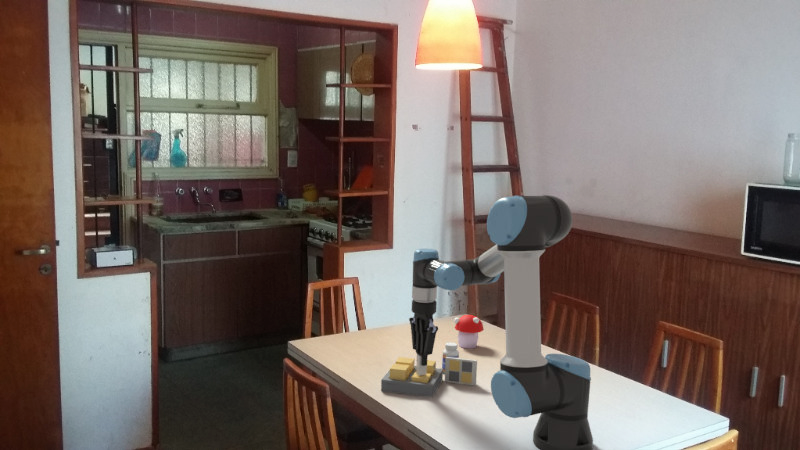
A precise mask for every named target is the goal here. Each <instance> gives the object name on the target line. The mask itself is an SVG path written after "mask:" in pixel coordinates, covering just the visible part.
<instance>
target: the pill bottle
mask: <svg viewBox="0 0 800 450" xmlns="http://www.w3.org/2000/svg"><path fill="white" fill-rule="evenodd" d="M444 345H445V346H444V349H443V351H442V360H441V361H442V362H441V369H443V374H444V375H445V360H446V357H453V358H460V352H459V350H458V344H457V343H455V342H446V343H445V344H444Z"/></svg>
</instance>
